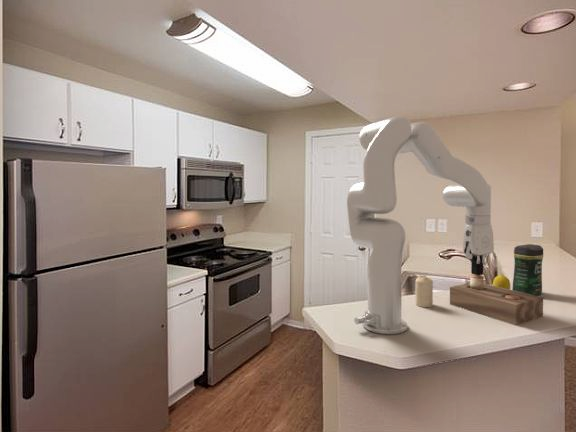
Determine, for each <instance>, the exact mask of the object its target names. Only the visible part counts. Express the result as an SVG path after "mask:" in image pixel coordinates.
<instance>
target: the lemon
mask: <svg viewBox="0 0 576 432" xmlns="http://www.w3.org/2000/svg"><path fill="white" fill-rule="evenodd" d="M492 286H497V287H501V288H505V289H509V290H511V282H510V279H509V278H508V277H507V276H505V275H503V274H500V275H497V276H496V277H494V279H493V282H492Z"/></svg>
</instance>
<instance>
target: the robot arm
mask: <svg viewBox="0 0 576 432" xmlns="http://www.w3.org/2000/svg"><path fill="white" fill-rule="evenodd" d="M359 143H360V146H361V147H362V149H364V150H365V151H366V152H365V154H364V157H363V162H362V163H363V168H362V169H363V181H360V182H356V183H355V184H353V185H352V186H351V187H350V189H349V191H348V193H347V198H346V207H347V215H348V217H347V218H348V226H349V232H350V237H351V239H352V241H353V243H354V244H355V245H356V246H358V247H362V248H365V249H370V250H372V251H371V254H370V256H369V259H368V262H367V310H365V311H364V314H363V315H362V316H361V315H360V316H356V317H355V318H354V320H353V321H354V323H355V325H359V324H360V325H361V324H362V326H363V328H364V329H366V330H368V331H370V332H372V333H376V334H382V335H397V334H401V333H404V332H405V331H407V329H408V323H407V322H406V321H405V320H404V319H403V318H402V265H403V264H402V261H403V253H404V247H405V242H406V231H405V228H404V227H403V225H402V224H401V223H400V222H399V221H396V220H394V219H392V218H387V217H385V218H384V217H376V215H385V214H390V213H391V212H393V211H394V210H395V208H396V206H397V199H398V198H397V187H396V175H395V161H396V158H397V156H398V154H405V153H412V154H414V156H415V157H416V159H417V160H418V161H419V162H420V164H421V166H423V168H424V169H425V170H426V172H427V173H428V174H430V175H432V176H435V177H437V178H441V179H445V180H448V181H451V182H454V183H452V184H450V185H448V186H446V187H445V188H444V189H443V191H442V199H443V202H444V203H445V204H446V205H448V206H451V207H462V208H465V209H464V212H465V216H464V217H465V219H464V222H465V223H464V225H465V226H464V231H463V238H462V239H463V240H462V251H463V253H464V254H465V256H464V258H465V259H467V260H468V259H469V262H470V263H471V264H470V265H471V266H470V267H471V271H470V273H471V275H481V276H484V263H485V259H486V258H487V257H488V256H489V255H490V254H492V253H494V245H495V244H494V232H493V227H492V226H493V225H492V222H491V221H492V220H491V218H492V187H491V185H490V184H488V182H487V180H486V179H485V177H484V176H483V174H482V173H481V172H480V170H478V169H477V168H476V167H473V165H470V164H469V163H467V162H465V161H464V160H462V159H460V158H458V157H456V156H454V155H453V154H452V153H451V152H450V150H449V148H448V147H447V145H446V144H445V143H444V141H443V139H442V138H441V137H440V136H439V134H438V133H437V131H436V130H435V128H434V127H433V125H431V124H430V123H428V122H426V121H418V122H417V121H416V122H414V123H413V122H411V121H410V120H409V118H407V117H405V116H393V117H389V118H385V119H382V120H379V121H375V122H372V123H369V124H368V125H365V126H364V127H363V128H362V129H361V131H360V133H359Z"/></svg>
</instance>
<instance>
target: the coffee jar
mask: <svg viewBox="0 0 576 432" xmlns="http://www.w3.org/2000/svg"><path fill="white" fill-rule="evenodd" d="M513 249H514V250H513V258H514V265H513V266H514V269H513V279H512V287H511V288H512V289H511V290H514V291H518V292H522V293H527V294H531V295H535V296H539V295H542V294H543V276H542V275H543V268H542V267H543V259H544V248H543V246H541V245H539V244H533V243H532V244H531V243H528V244H527V243H526V244H523V245H522V244H521V245H516V246H515V247H514V248H513Z"/></svg>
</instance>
